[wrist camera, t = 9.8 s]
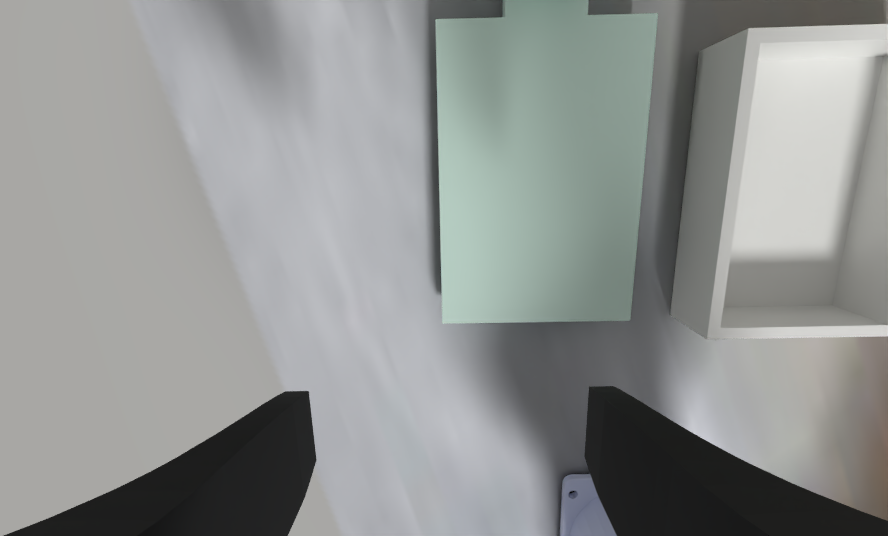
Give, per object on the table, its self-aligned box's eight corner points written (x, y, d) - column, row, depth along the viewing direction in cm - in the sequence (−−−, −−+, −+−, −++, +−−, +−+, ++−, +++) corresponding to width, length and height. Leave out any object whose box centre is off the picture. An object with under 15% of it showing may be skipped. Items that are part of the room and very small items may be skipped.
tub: (833, 312, 20) (897, 335, 17) (669, 315, 20) (706, 339, 18) (888, 45, 18) (976, 21, 15) (699, 51, 18) (748, 28, 15)
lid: (614, 307, 21) (658, 344, 16) (442, 310, 21) (441, 347, 16) (646, -87, 17) (715, -175, 12) (434, -80, 17) (429, -166, 12)
